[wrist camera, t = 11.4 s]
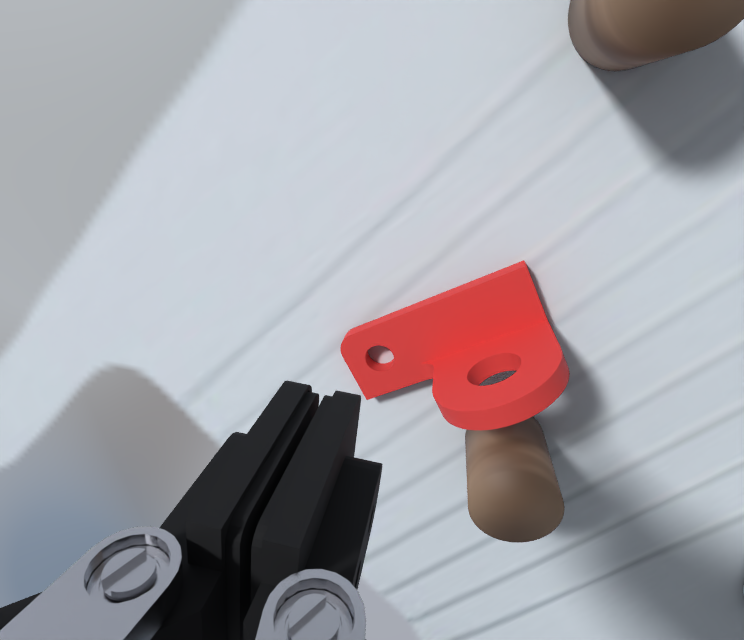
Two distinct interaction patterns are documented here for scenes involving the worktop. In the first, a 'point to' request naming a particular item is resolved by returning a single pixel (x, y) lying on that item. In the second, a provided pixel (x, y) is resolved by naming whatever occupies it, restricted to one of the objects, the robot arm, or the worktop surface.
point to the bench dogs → (526, 439)
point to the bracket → (468, 351)
